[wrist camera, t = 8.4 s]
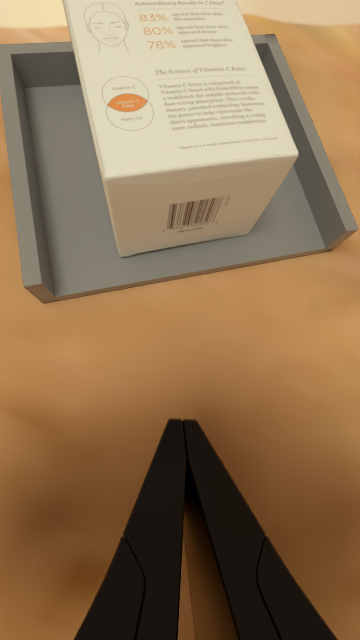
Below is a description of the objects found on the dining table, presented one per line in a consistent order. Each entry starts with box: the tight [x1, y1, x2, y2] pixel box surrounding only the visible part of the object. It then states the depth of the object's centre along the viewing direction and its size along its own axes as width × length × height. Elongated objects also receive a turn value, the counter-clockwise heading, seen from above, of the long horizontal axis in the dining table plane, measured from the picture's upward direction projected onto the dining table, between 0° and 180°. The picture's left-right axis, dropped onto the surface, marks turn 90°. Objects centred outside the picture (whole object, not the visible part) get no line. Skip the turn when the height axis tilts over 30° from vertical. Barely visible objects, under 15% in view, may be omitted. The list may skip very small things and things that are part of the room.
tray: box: [0, 34, 359, 303], centre depth 17 cm, size 15×18×2 cm
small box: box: [62, 0, 298, 257], centre depth 15 cm, size 8×6×13 cm
